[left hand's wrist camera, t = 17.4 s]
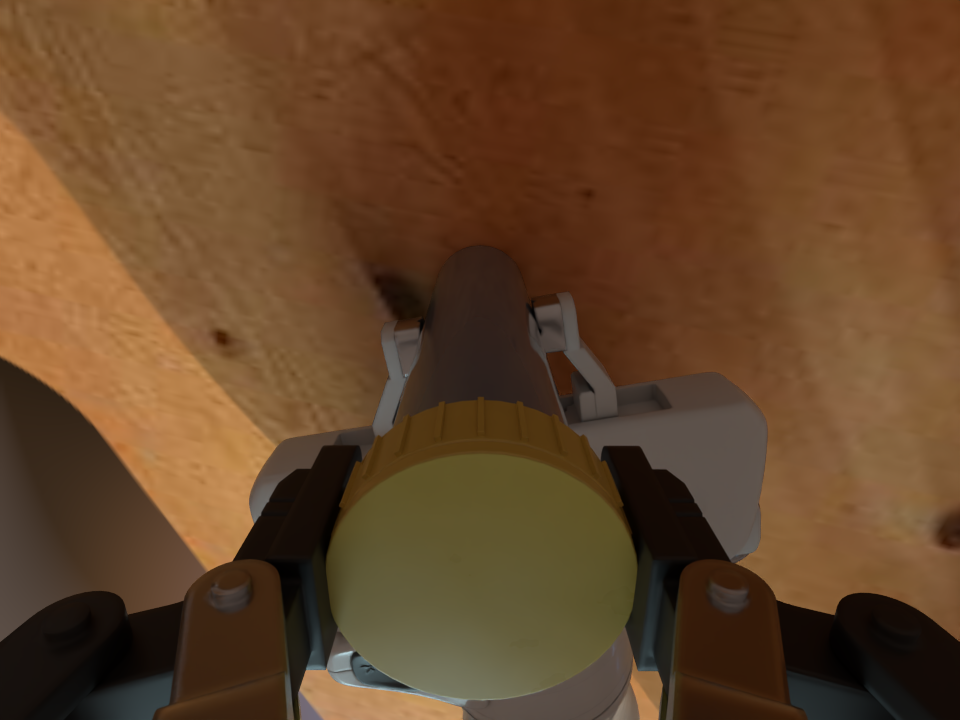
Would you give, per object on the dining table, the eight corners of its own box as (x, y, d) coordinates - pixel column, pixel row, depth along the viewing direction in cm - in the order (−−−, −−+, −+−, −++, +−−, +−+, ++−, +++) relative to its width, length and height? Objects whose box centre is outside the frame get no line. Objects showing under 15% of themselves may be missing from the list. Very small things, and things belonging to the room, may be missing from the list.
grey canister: (450, 340, 29) (402, 676, 11) (424, 258, 27) (319, 491, 9) (532, 318, 28) (625, 631, 10) (511, 234, 27) (577, 430, 9)
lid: (623, 608, 12) (648, 688, 10) (374, 635, 12) (357, 717, 10) (610, 377, 10) (637, 427, 8) (315, 414, 10) (282, 469, 8)
